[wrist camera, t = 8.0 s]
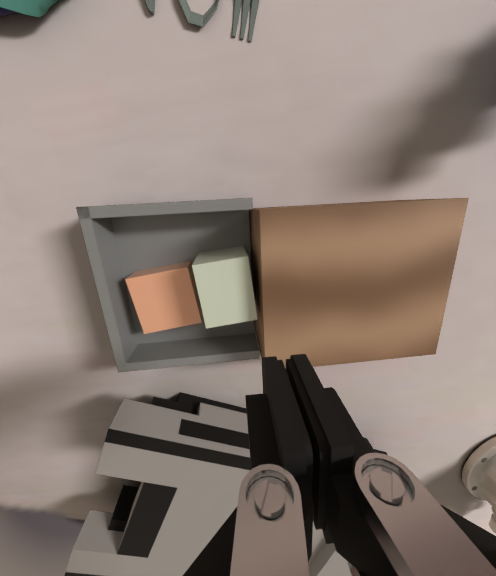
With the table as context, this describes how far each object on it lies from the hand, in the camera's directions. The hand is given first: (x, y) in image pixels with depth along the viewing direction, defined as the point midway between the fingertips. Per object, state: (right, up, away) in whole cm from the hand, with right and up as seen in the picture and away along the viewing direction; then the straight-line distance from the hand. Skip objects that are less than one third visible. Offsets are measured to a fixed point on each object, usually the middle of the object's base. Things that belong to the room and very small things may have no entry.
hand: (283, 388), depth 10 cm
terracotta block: (-8, +3, +11) cm, 14 cm away
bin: (-7, +5, +14) cm, 16 cm away
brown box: (+6, +6, +15) cm, 17 cm away
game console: (-2, -20, +23) cm, 30 cm away
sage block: (-1, +5, +11) cm, 12 cm away
